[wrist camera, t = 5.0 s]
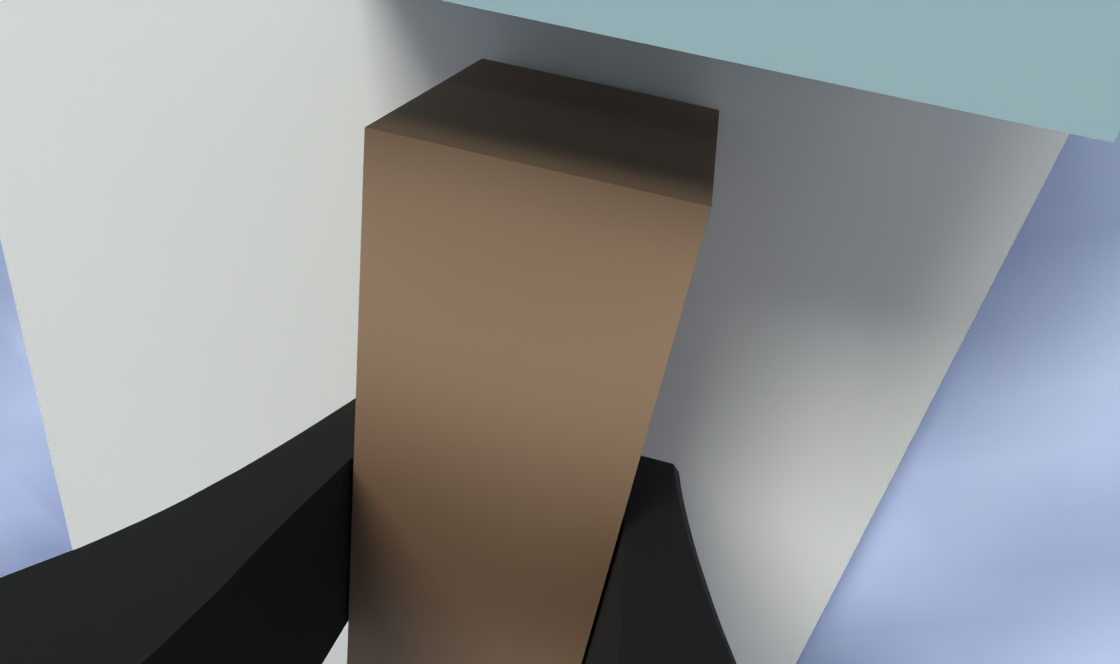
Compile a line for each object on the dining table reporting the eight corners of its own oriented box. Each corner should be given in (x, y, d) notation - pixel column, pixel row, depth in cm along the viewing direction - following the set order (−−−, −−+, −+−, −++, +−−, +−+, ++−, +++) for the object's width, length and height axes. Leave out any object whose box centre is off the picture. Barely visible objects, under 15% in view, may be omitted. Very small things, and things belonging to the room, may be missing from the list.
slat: (575, 637, 14) (533, 832, 11) (423, 595, 15) (343, 772, 12) (720, 109, 9) (712, 206, 6) (482, 58, 9) (364, 126, 6)
